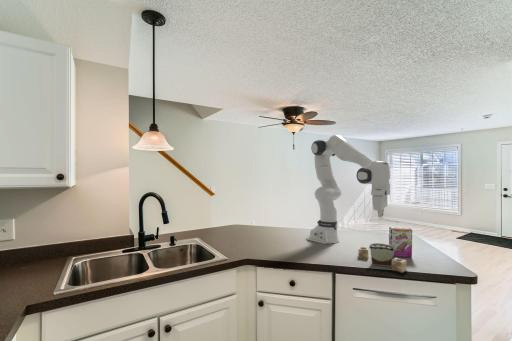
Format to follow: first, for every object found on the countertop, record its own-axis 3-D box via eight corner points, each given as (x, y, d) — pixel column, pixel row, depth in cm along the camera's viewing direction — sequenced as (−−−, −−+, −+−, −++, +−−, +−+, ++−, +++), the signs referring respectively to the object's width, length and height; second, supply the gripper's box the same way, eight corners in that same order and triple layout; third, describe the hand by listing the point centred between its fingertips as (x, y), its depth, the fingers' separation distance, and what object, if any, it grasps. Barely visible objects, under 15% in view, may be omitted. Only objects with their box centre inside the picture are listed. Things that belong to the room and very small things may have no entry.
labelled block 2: (391, 269, 126) (391, 259, 126) (395, 267, 129) (395, 257, 129) (402, 272, 122) (402, 262, 122) (406, 270, 125) (406, 259, 125)
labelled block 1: (358, 257, 143) (358, 248, 143) (359, 255, 147) (359, 246, 147) (368, 259, 141) (368, 249, 141) (368, 256, 145) (368, 247, 145)
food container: (392, 262, 135) (392, 244, 135) (394, 266, 129) (394, 247, 129) (367, 260, 139) (367, 242, 139) (368, 264, 133) (368, 245, 133)
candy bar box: (391, 256, 144) (391, 228, 144) (388, 253, 149) (388, 226, 149) (412, 258, 142) (412, 229, 142) (409, 255, 146) (409, 227, 146)
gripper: (378, 189, 144) (378, 213, 144) (370, 192, 128) (370, 219, 128) (390, 189, 140) (390, 214, 141) (383, 192, 124) (383, 220, 124)
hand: (380, 216), depth 134 cm, fingers closed
